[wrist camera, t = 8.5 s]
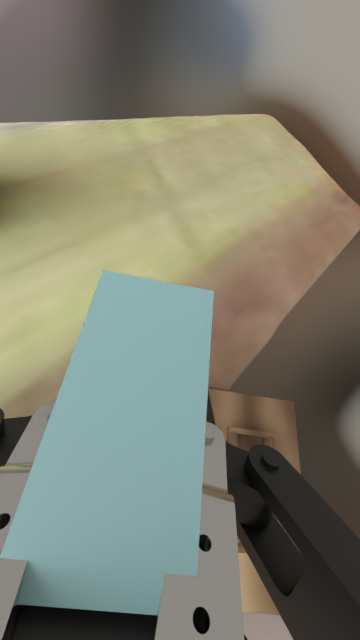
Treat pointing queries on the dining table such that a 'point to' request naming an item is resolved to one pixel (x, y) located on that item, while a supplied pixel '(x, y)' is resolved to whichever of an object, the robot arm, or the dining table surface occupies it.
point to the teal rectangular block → (120, 454)
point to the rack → (257, 425)
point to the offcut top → (252, 586)
